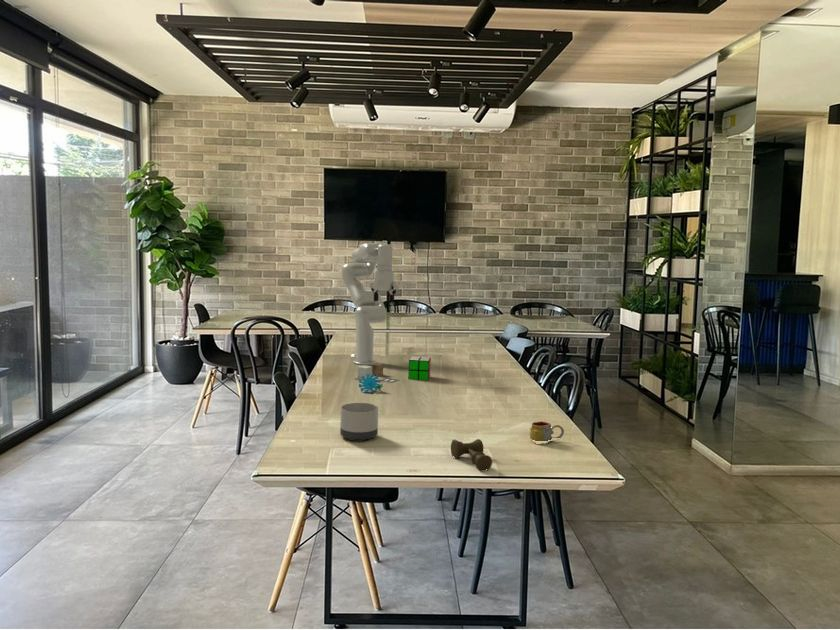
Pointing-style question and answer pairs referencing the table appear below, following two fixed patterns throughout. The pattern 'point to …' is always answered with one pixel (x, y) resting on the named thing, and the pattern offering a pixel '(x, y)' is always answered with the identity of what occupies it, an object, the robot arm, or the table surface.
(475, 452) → the kendama
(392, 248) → the robot arm
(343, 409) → the planter
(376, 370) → the walnut block
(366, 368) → the pale grey-green block
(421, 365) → the puzzle cube
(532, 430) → the mug
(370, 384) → the blue spiky virus model
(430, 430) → the table surface
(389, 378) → the coaster
